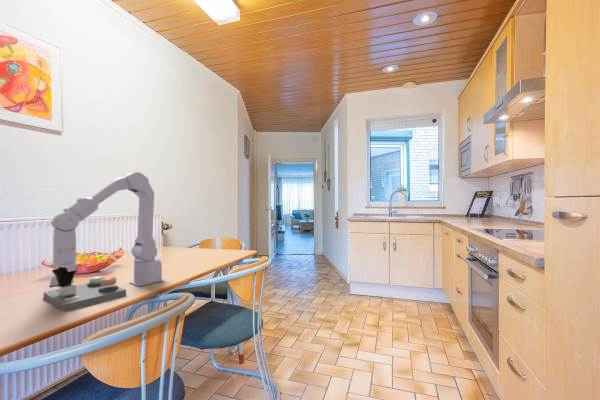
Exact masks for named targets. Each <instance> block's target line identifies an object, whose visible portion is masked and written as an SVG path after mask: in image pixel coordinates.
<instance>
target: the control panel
mask: <svg viewBox="0 0 600 400" xmlns="http://www.w3.org/2000/svg"><path fill="white" fill-rule="evenodd" d="M124 296H127V289H126V288H123V287H121V286H118V285H116V284H113V285H108V286H101V283H100V284H89V282H85V283H82V284H76V294H73V295H69V296H64V297H61V296H59V288H57V289H51V290H49V291H44V292H43V299H44V300H45V301H47V302H48V303H50V304H51V305H52V306H54V307H55V308H57V309H58V310H60V311H61V312H63V313H65V312H68V311H71V310H76V309H78V308H84V307H87V306H90V305H94V304H99V303H102V302H105V301H110V300H114V299H117V298H122V297H124Z"/></svg>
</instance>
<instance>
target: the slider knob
mask: <svg viewBox="0 0 600 400" xmlns="http://www.w3.org/2000/svg"><path fill="white" fill-rule="evenodd" d="M76 285H77V284H76V283H74V282H73V283H71V284H66V285H61V286H58V289H59V296H61V297H64V296H69V295H73V294H76Z"/></svg>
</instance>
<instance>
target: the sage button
mask: <svg viewBox="0 0 600 400" xmlns="http://www.w3.org/2000/svg"><path fill="white" fill-rule="evenodd" d="M103 278H105V276H104V275H97V276H92V277H89V278H88V279H89V280H88V281H89V282H88V283H89V284H100V283H101V279H103Z"/></svg>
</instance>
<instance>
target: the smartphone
mask: <svg viewBox="0 0 600 400" xmlns="http://www.w3.org/2000/svg"><path fill="white" fill-rule="evenodd" d="M71 283H74V277H73V278H72V282H71ZM53 287H59V285H58V281H57V278H56V276H53V277H51V280H50V283H49V288H53Z"/></svg>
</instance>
